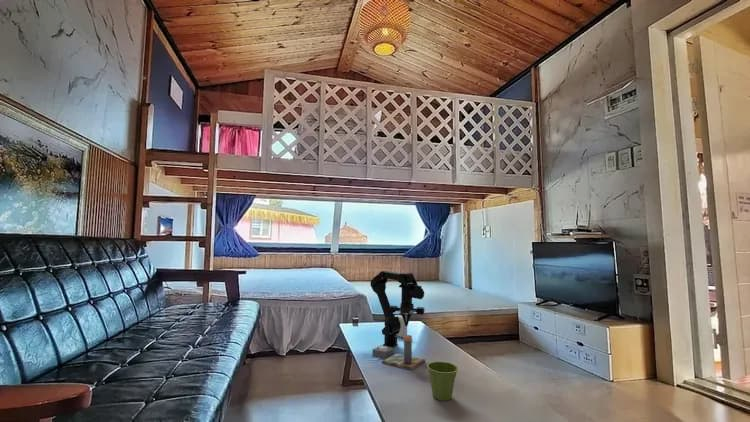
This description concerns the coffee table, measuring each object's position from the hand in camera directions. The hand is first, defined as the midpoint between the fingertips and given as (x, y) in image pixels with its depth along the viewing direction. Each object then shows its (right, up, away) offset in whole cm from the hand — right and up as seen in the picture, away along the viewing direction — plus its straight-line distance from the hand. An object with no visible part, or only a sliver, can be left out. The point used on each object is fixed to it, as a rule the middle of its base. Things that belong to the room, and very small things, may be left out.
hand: (406, 326), depth 194 cm
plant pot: (+9, -10, -55) cm, 57 cm away
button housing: (-13, -12, -7) cm, 19 cm away
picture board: (-3, -12, -18) cm, 22 cm away
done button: (-13, -12, -7) cm, 19 cm away
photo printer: (-2, -15, +28) cm, 32 cm away
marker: (-1, -10, -23) cm, 25 cm away
